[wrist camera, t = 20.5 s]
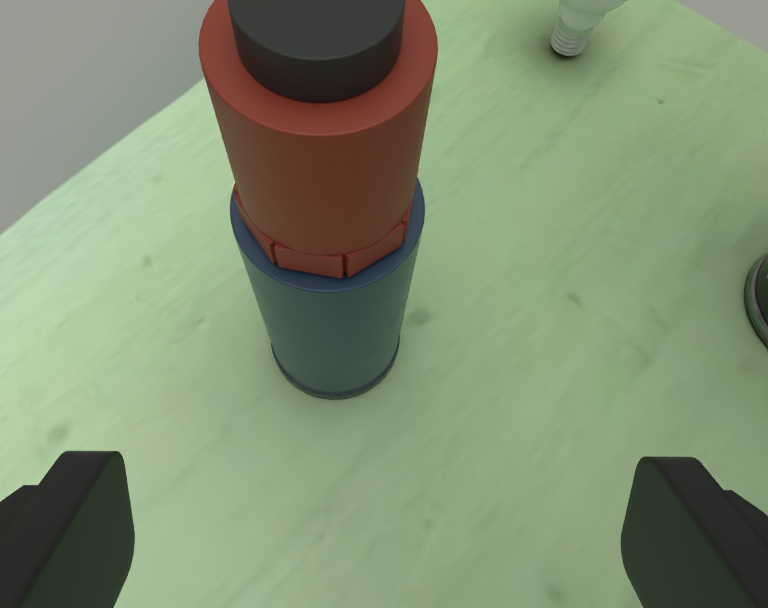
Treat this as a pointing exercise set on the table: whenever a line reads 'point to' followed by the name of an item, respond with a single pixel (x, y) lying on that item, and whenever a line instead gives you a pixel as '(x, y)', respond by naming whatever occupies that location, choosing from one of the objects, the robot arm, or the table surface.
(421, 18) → the lid
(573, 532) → the table surface
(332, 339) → the flask
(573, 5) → the lightbulb
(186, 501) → the table surface
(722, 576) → the robot arm
